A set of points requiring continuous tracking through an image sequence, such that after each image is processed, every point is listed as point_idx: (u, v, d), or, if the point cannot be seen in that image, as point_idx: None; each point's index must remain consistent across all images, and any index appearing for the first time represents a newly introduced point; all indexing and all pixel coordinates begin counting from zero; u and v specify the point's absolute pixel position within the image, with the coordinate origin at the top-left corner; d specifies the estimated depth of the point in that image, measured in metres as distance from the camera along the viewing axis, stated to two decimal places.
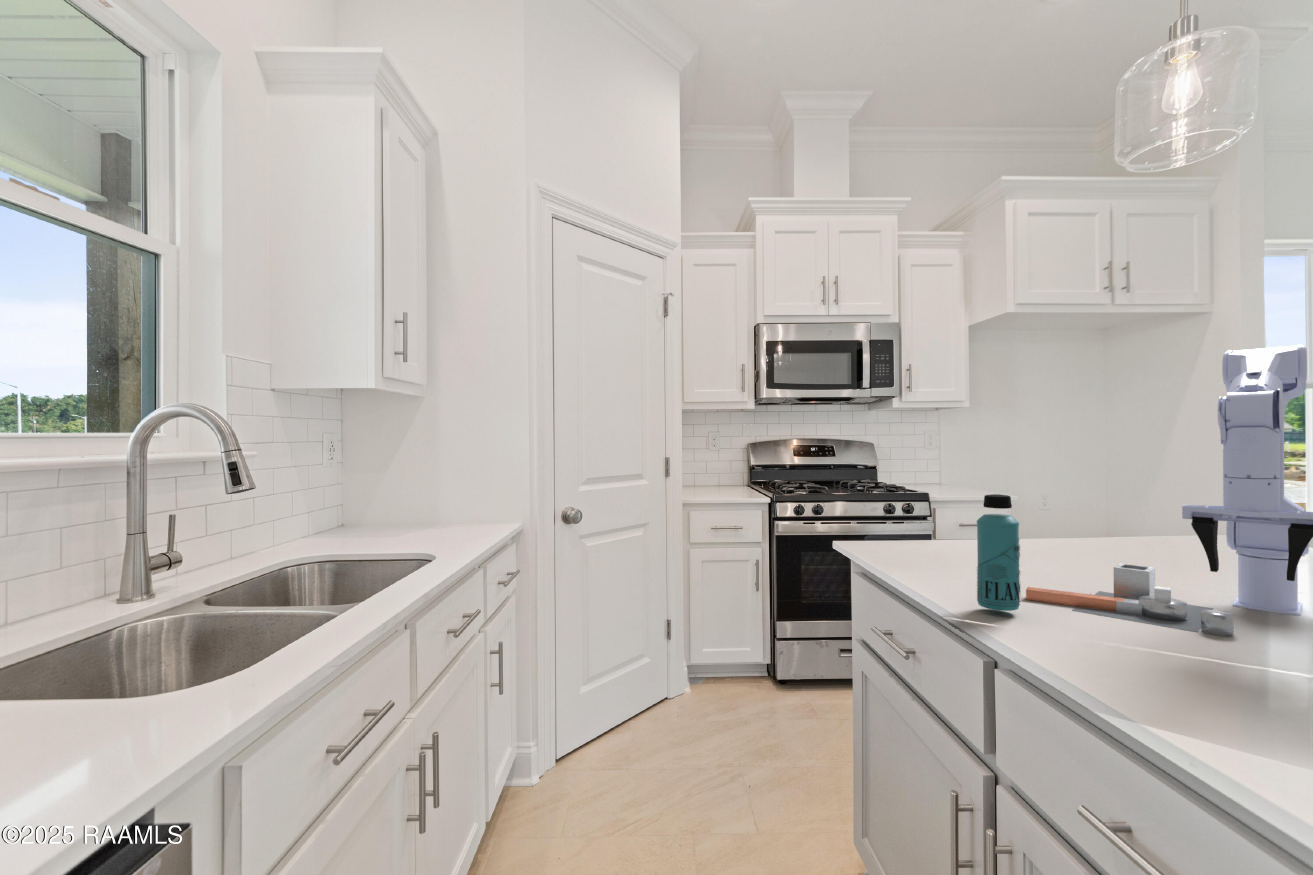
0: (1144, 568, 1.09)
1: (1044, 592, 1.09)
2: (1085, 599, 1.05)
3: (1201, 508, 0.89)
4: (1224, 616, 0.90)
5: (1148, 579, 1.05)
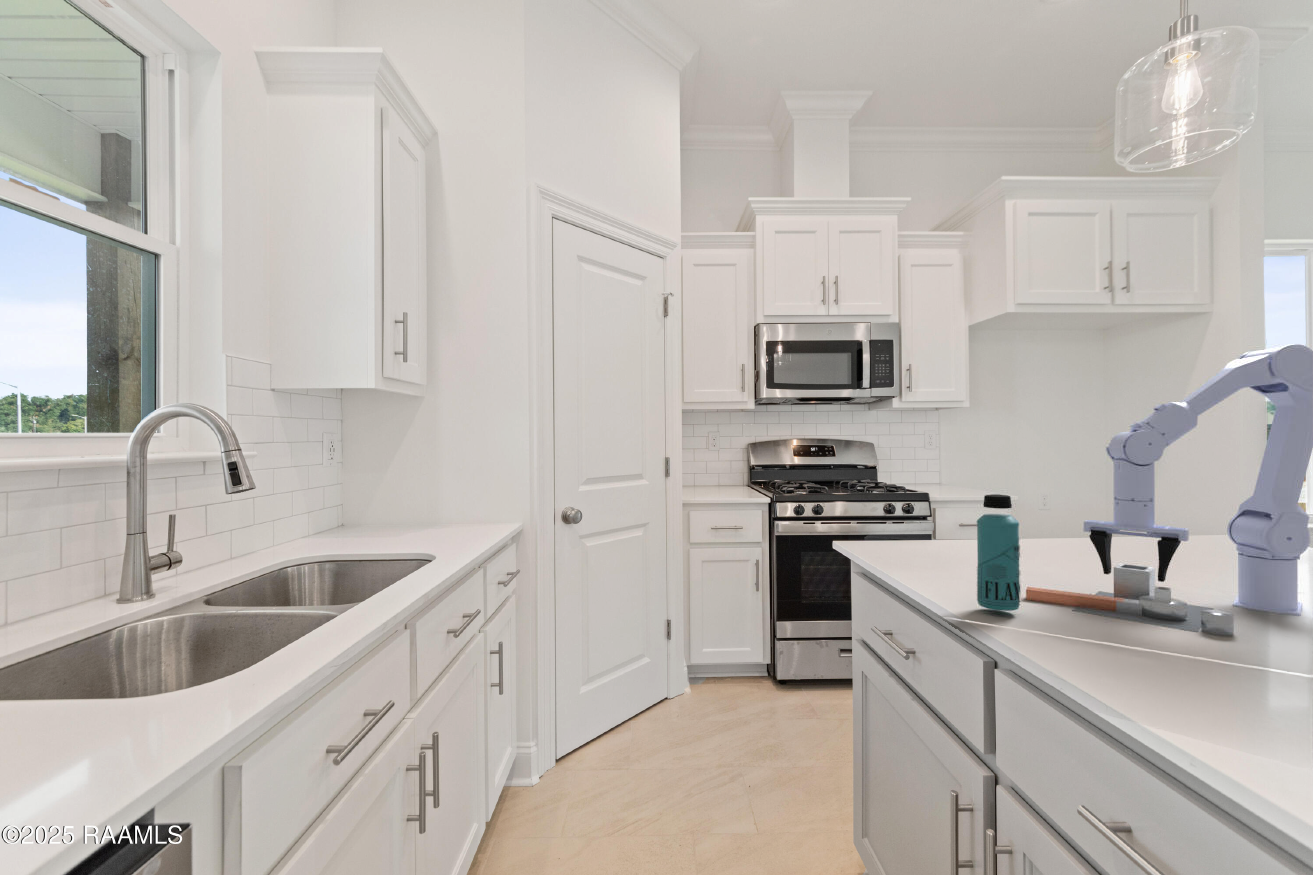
0: (1144, 568, 1.09)
1: (1044, 592, 1.09)
2: (1085, 599, 1.05)
3: (1097, 523, 1.12)
4: (1224, 616, 0.90)
5: (1148, 579, 1.05)
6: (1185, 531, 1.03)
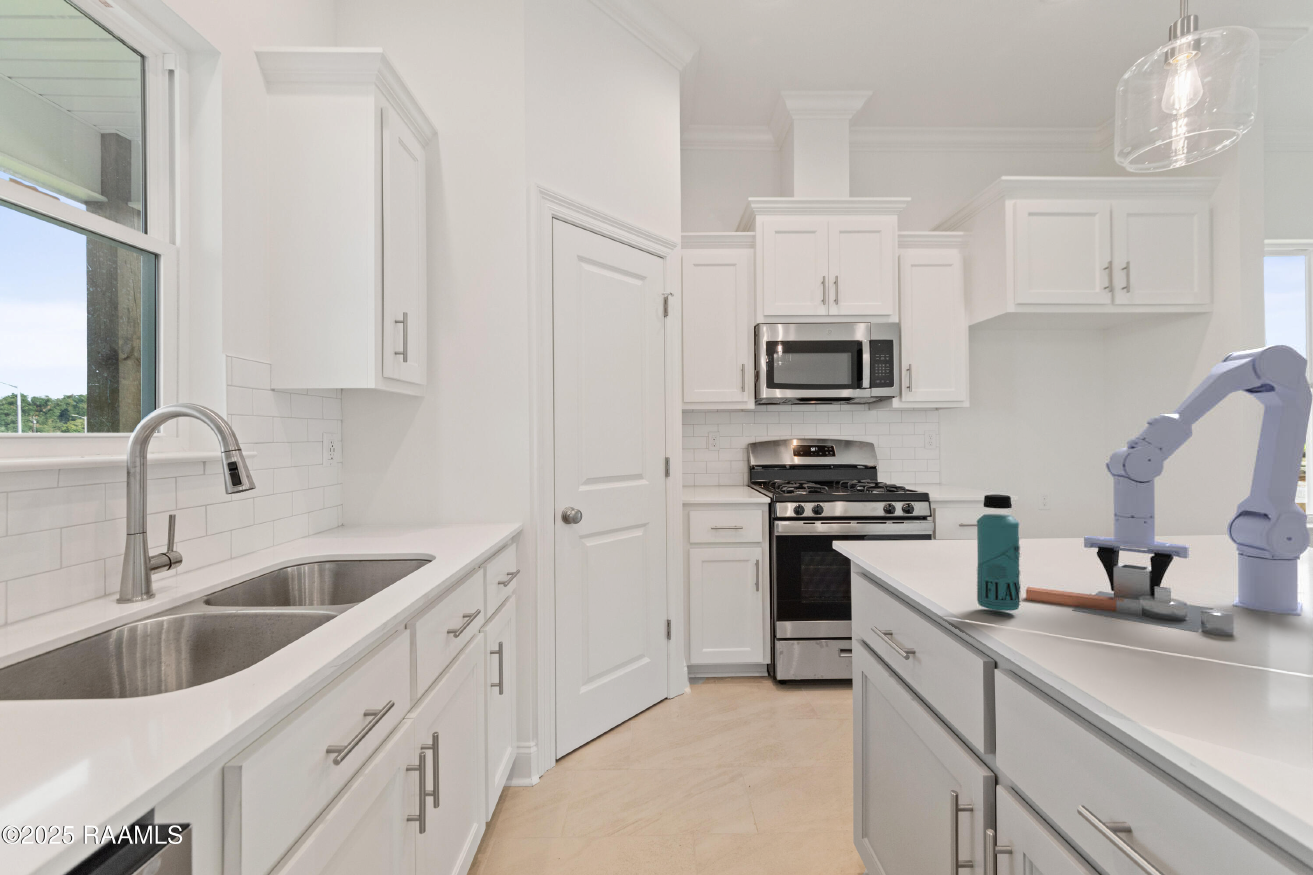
0: (1144, 568, 1.09)
1: (1044, 592, 1.09)
2: (1085, 599, 1.05)
3: (1097, 539, 1.12)
4: (1224, 616, 0.90)
5: (1148, 579, 1.05)
6: (1185, 548, 1.03)
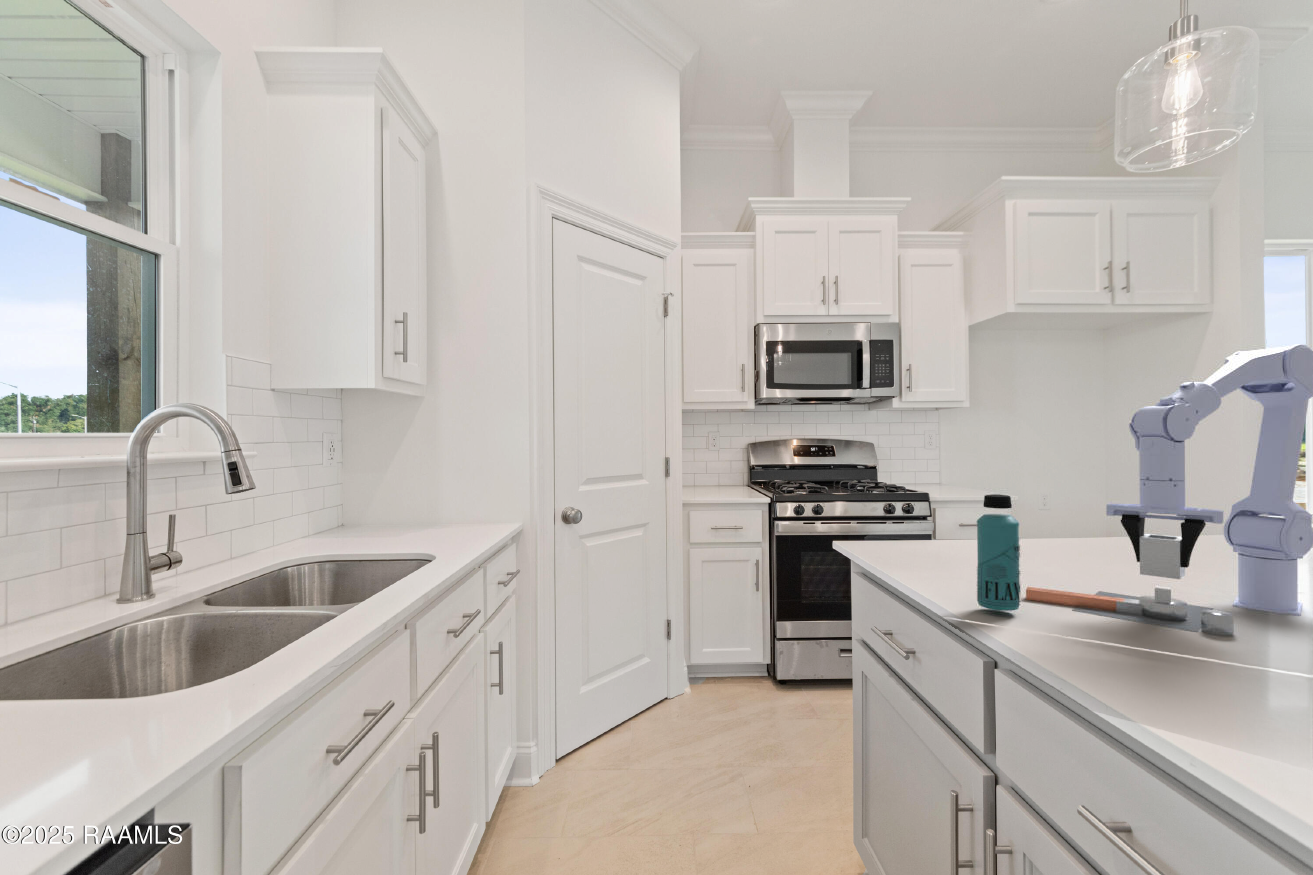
0: (1173, 538, 1.00)
1: (1044, 592, 1.09)
2: (1085, 599, 1.05)
3: (1121, 506, 1.03)
4: (1224, 616, 0.90)
5: (1178, 549, 0.97)
6: (1220, 513, 0.94)
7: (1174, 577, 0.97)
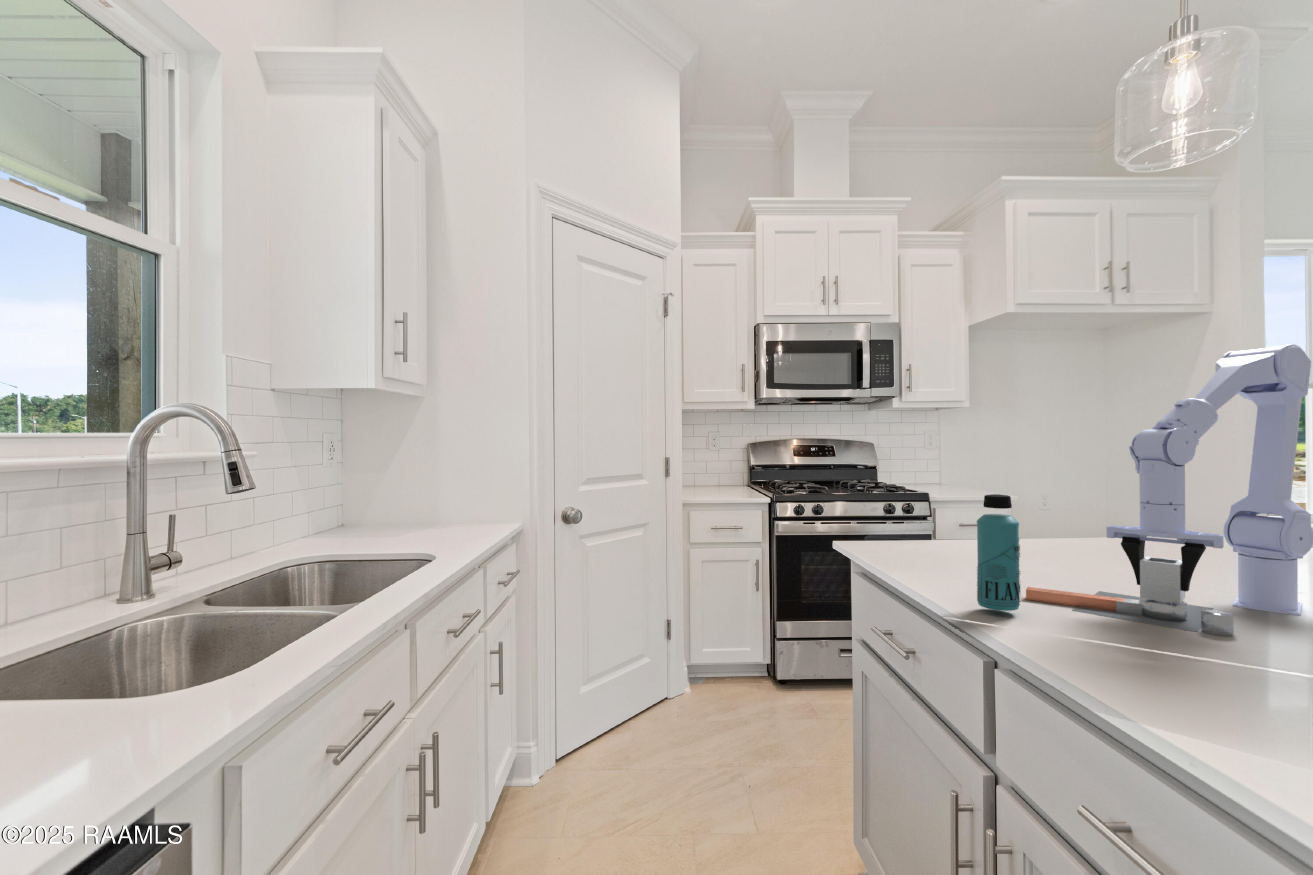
0: (1173, 561, 1.00)
1: (1044, 592, 1.09)
2: (1085, 599, 1.05)
3: (1121, 529, 1.03)
4: (1224, 616, 0.90)
5: (1179, 573, 0.97)
6: (1220, 537, 0.94)
7: (1174, 601, 0.97)
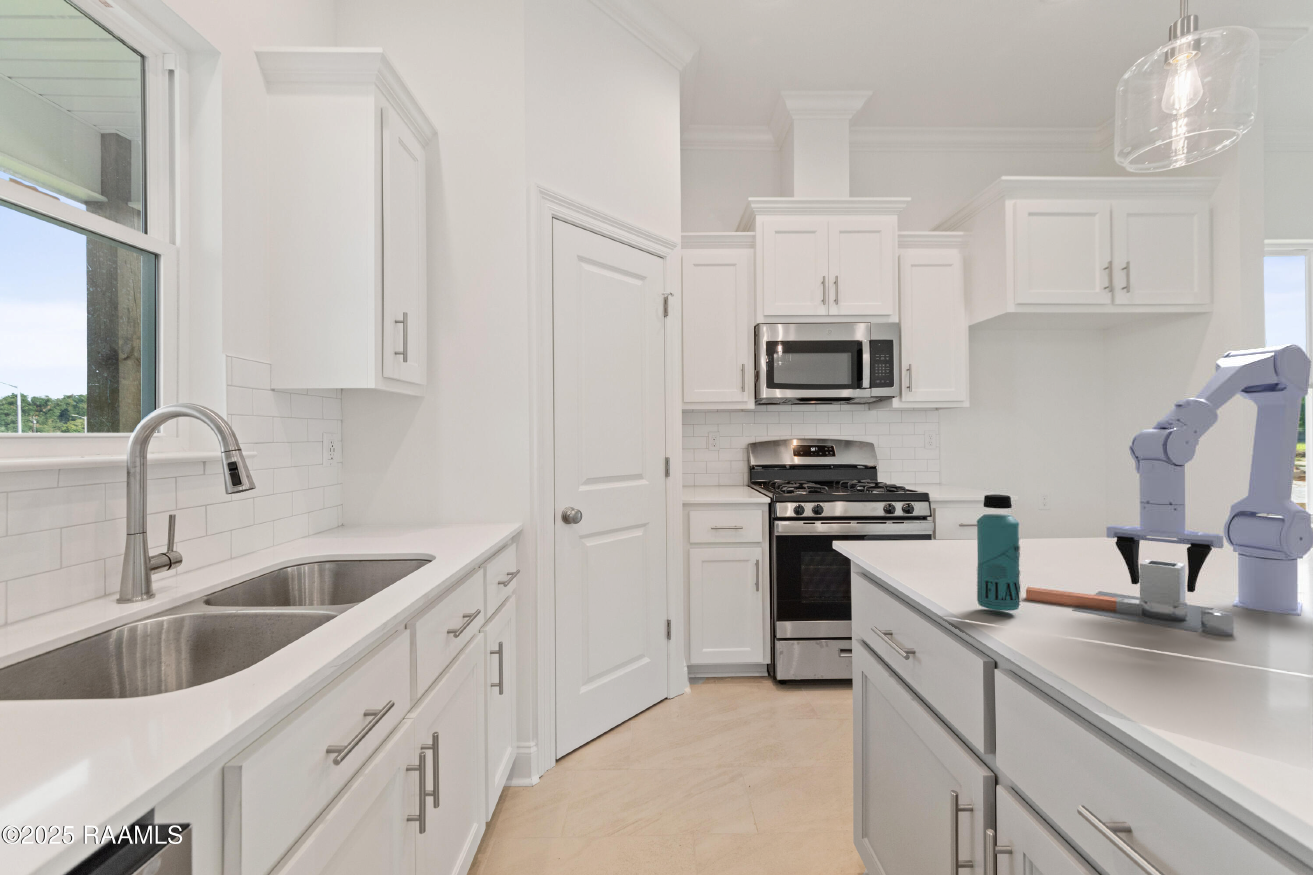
0: (1173, 565, 1.00)
1: (1044, 592, 1.09)
2: (1085, 599, 1.05)
3: (1121, 529, 1.03)
4: (1224, 616, 0.90)
5: (1178, 576, 0.97)
6: (1220, 537, 0.94)
7: (1174, 604, 0.97)
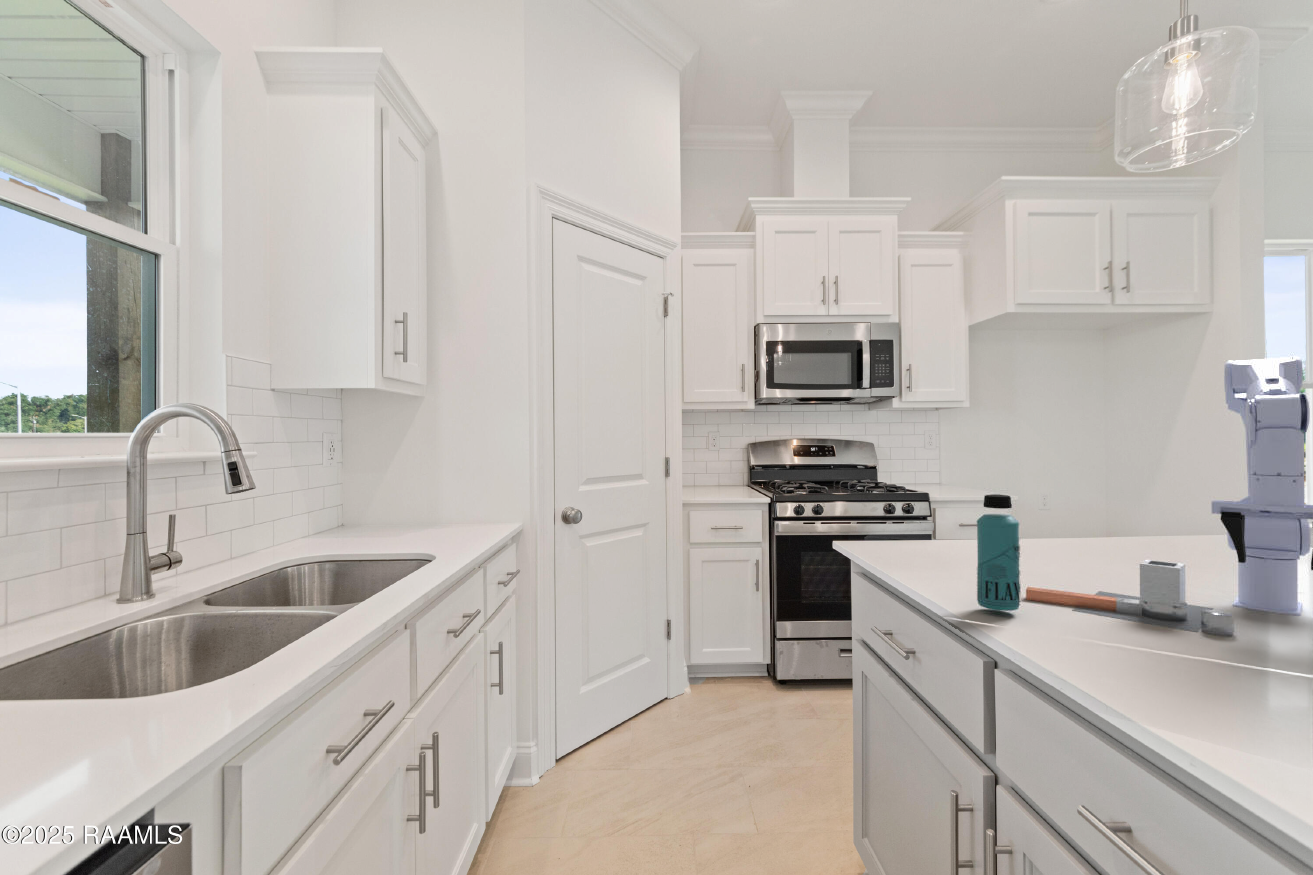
0: (1173, 565, 1.00)
1: (1044, 592, 1.09)
2: (1085, 599, 1.05)
3: (1230, 503, 0.96)
4: (1224, 616, 0.90)
5: (1178, 576, 0.97)
6: None
7: (1174, 604, 0.97)
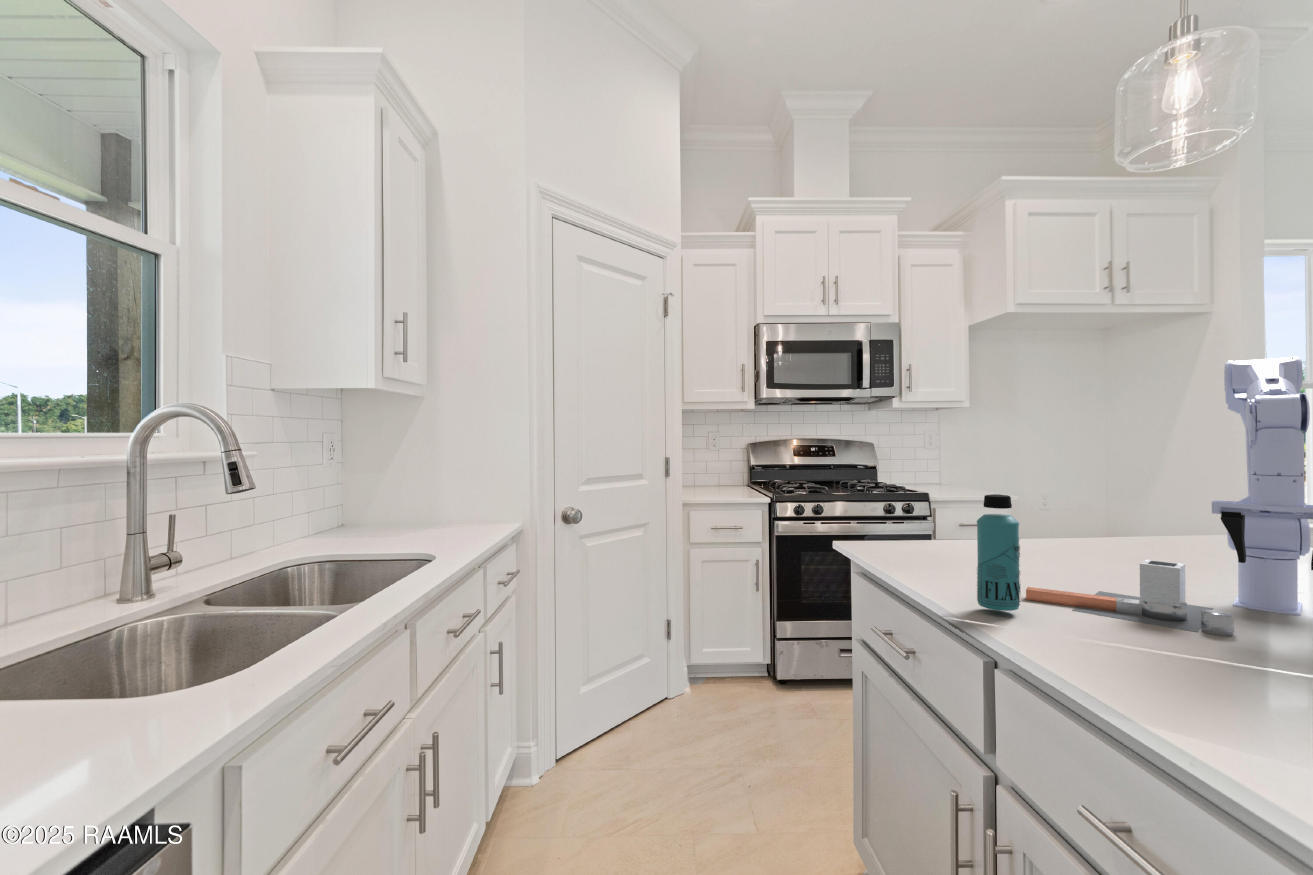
0: (1173, 565, 1.00)
1: (1044, 592, 1.09)
2: (1085, 599, 1.05)
3: (1230, 503, 0.96)
4: (1224, 616, 0.90)
5: (1178, 576, 0.97)
6: None
7: (1174, 604, 0.97)
